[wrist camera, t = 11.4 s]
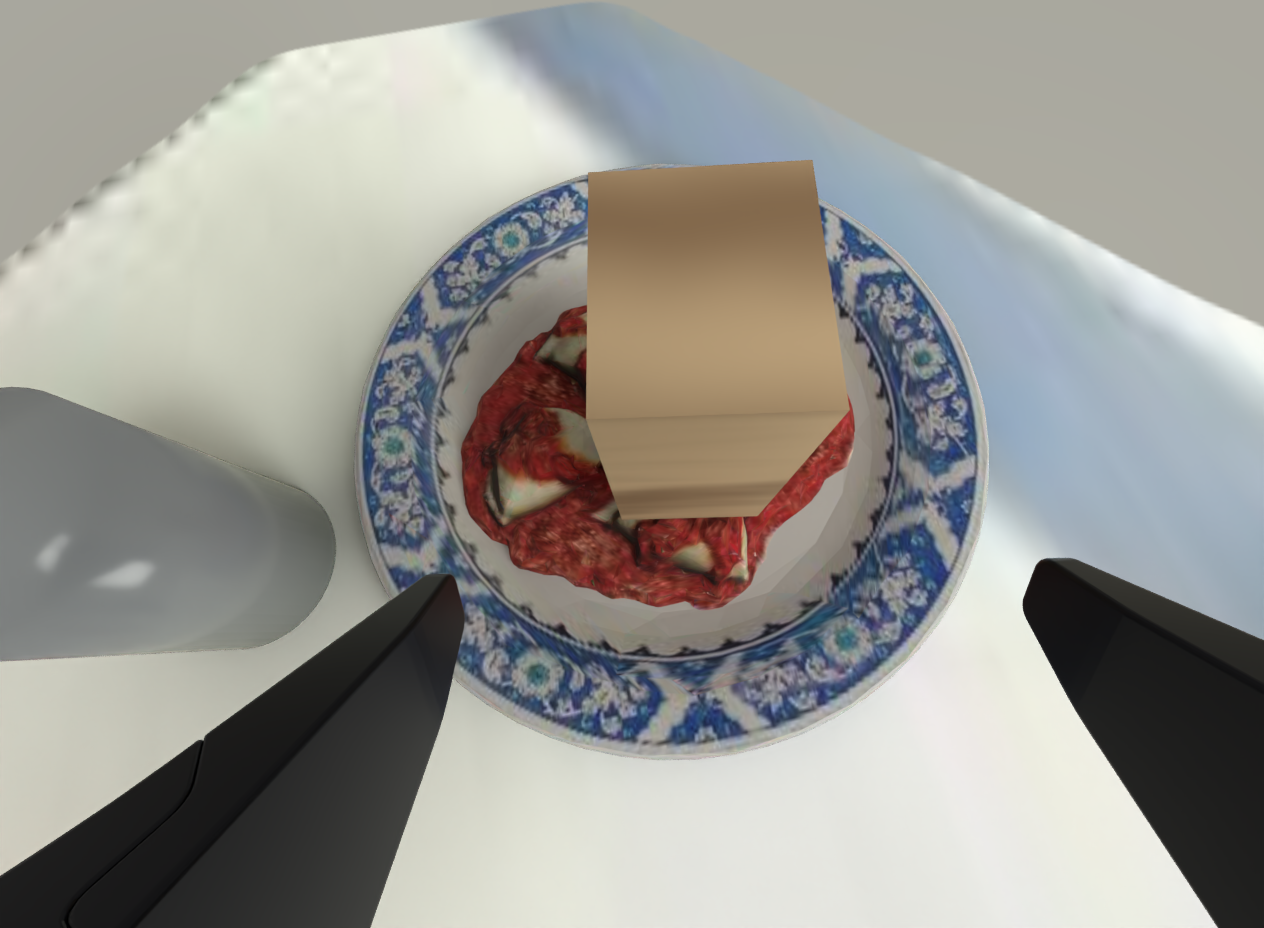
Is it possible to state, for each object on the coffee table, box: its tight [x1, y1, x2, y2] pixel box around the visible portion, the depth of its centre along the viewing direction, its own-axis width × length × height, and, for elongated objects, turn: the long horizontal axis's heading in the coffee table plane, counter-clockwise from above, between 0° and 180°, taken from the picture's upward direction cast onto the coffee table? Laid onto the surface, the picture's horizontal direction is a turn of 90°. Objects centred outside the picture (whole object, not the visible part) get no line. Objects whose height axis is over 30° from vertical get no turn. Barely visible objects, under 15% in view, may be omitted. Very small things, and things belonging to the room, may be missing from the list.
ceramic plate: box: [354, 164, 989, 760], centre depth 23 cm, size 26×26×3 cm
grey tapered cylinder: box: [0, 387, 336, 661], centre depth 18 cm, size 7×7×10 cm
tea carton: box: [586, 160, 850, 520], centre depth 16 cm, size 6×5×10 cm
